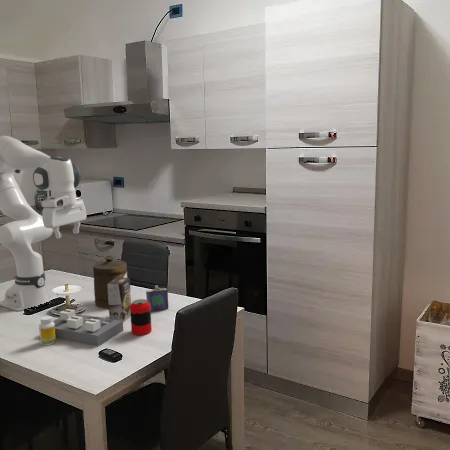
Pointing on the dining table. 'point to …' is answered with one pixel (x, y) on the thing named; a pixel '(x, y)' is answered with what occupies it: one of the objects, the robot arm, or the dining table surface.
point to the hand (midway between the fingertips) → (67, 235)
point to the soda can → (140, 317)
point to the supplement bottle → (47, 331)
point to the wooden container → (106, 278)
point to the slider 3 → (92, 325)
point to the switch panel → (88, 337)
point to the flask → (157, 298)
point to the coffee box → (119, 299)
